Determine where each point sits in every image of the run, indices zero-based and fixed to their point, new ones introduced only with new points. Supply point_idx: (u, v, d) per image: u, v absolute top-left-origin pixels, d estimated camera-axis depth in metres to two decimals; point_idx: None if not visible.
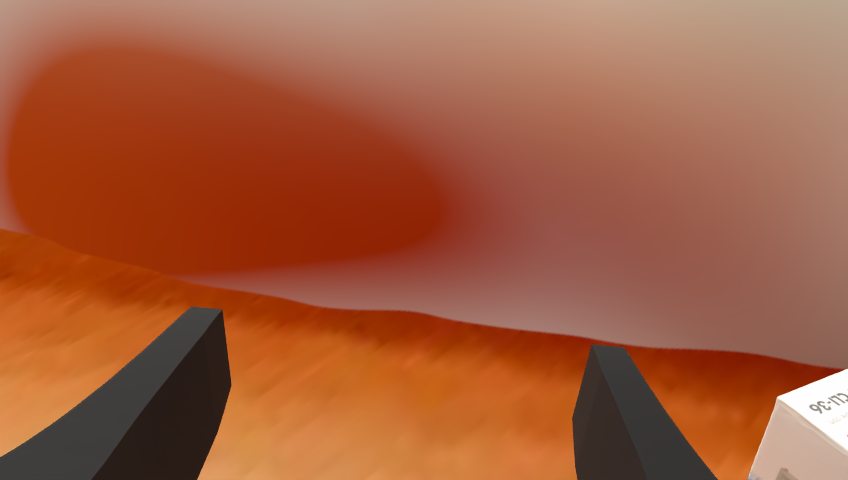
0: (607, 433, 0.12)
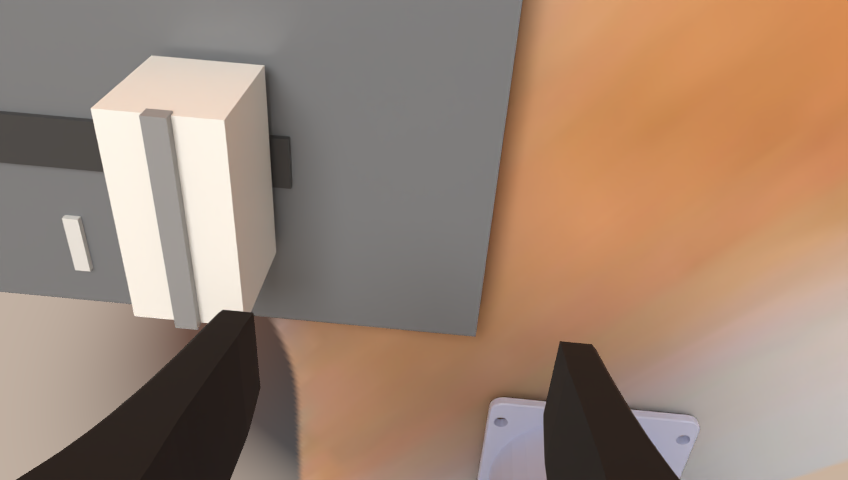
0: (571, 429, 0.12)
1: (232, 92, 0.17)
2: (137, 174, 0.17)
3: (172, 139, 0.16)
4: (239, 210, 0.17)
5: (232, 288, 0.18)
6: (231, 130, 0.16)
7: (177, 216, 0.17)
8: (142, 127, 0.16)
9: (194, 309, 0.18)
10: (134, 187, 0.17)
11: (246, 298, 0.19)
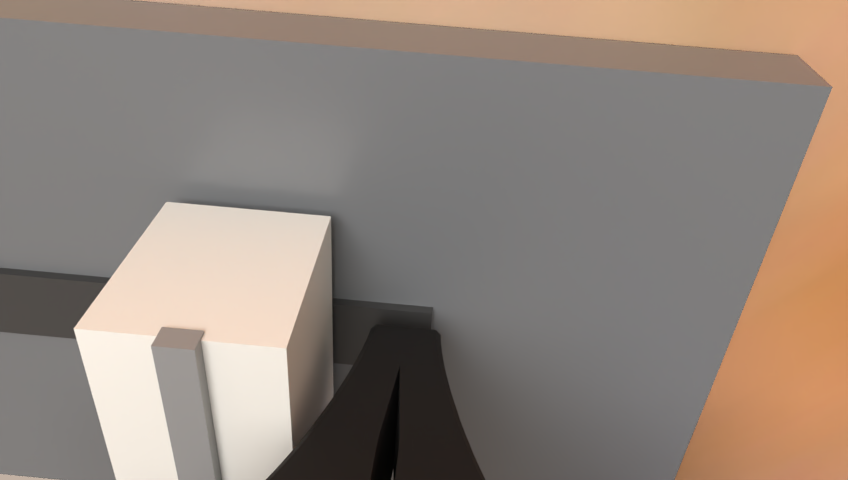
0: (397, 412, 0.12)
1: (291, 278, 0.11)
2: (147, 412, 0.11)
3: (202, 371, 0.10)
4: None
5: None
6: (295, 349, 0.10)
7: (208, 468, 0.11)
8: (156, 361, 0.10)
9: None
10: (144, 428, 0.11)
11: None
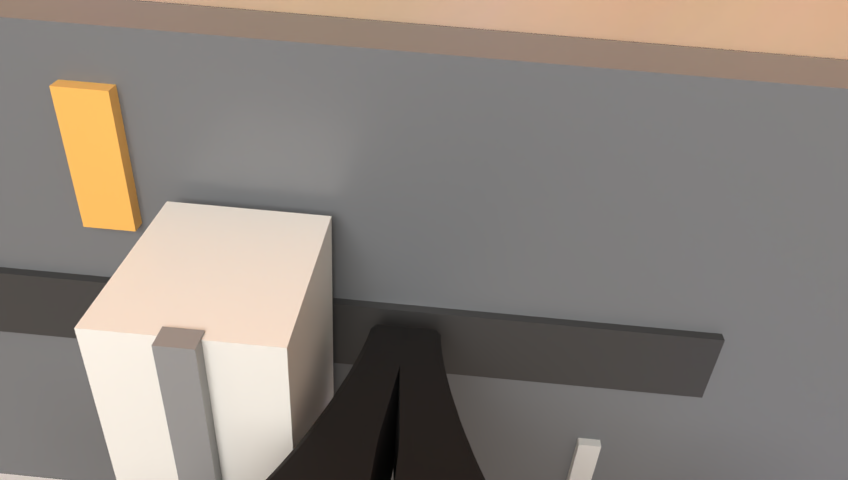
0: None
1: (292, 278, 0.11)
2: (148, 412, 0.11)
3: (203, 370, 0.10)
4: None
5: None
6: (295, 348, 0.10)
7: (208, 468, 0.11)
8: (156, 361, 0.10)
9: None
10: (144, 428, 0.11)
11: None
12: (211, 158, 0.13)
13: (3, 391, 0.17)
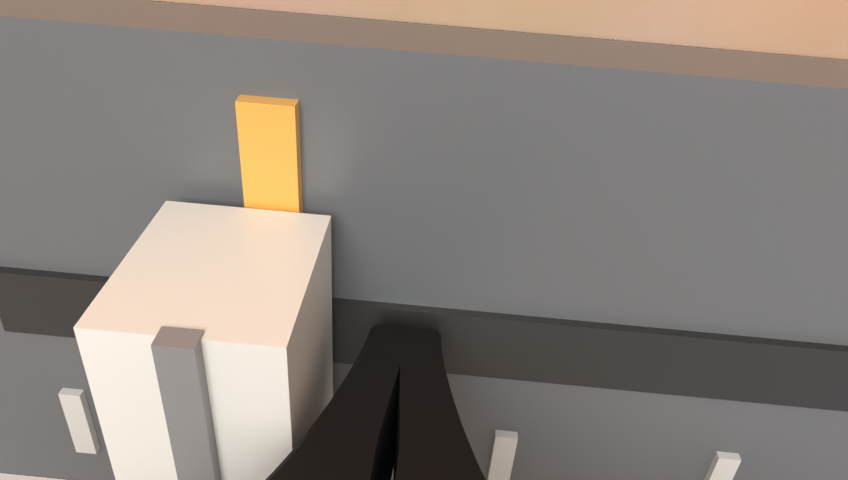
0: (397, 413, 0.12)
1: (291, 277, 0.11)
2: (147, 412, 0.11)
3: (202, 370, 0.10)
4: None
5: None
6: (294, 349, 0.10)
7: (207, 468, 0.11)
8: (155, 361, 0.10)
9: None
10: (143, 427, 0.11)
11: None
12: (384, 173, 0.13)
13: None
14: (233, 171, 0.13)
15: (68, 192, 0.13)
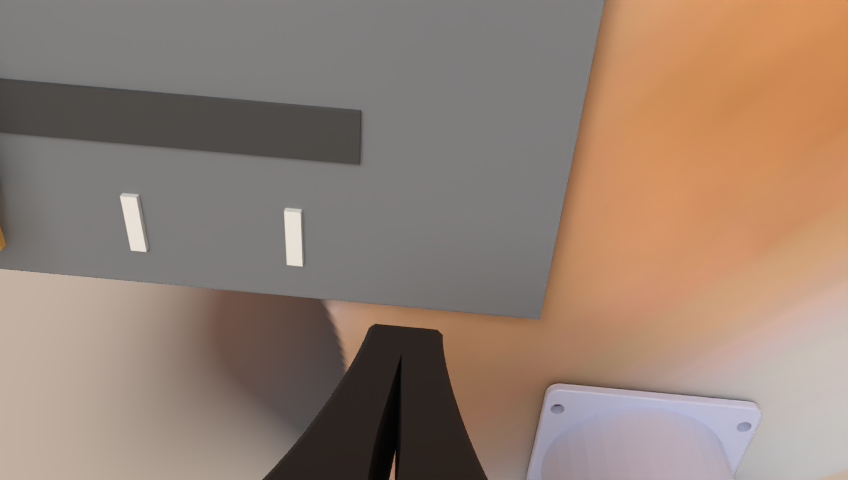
0: (400, 413, 0.12)
1: None
2: None
3: None
4: None
5: None
6: None
7: None
8: None
9: None
10: None
11: None
12: None
13: None
14: None
15: None
